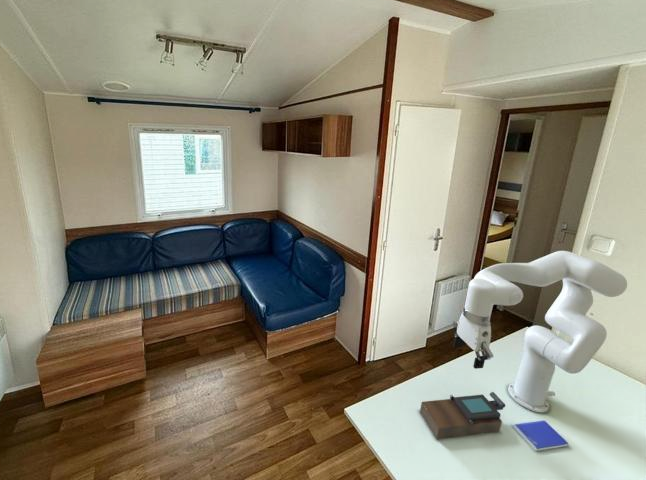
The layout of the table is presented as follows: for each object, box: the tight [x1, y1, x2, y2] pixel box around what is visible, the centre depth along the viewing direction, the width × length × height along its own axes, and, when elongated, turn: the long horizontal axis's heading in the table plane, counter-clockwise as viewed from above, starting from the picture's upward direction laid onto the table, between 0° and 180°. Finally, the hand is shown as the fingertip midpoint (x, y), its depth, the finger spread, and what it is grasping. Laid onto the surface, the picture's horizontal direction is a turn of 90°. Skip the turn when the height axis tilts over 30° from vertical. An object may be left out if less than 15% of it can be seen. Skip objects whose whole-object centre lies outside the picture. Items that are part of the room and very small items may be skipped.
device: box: [453, 391, 506, 421], centre depth 104 cm, size 16×8×4 cm, turn 97°
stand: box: [419, 394, 503, 440], centre depth 104 cm, size 24×10×7 cm, turn 97°
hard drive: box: [513, 420, 569, 452], centre depth 100 cm, size 2×8×12 cm
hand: (467, 356), depth 102 cm, fingers open, 9 cm apart
